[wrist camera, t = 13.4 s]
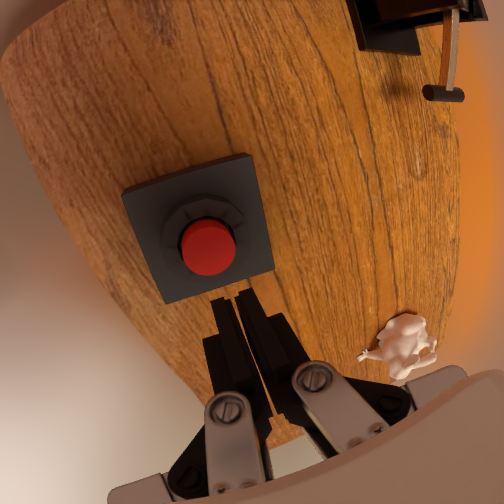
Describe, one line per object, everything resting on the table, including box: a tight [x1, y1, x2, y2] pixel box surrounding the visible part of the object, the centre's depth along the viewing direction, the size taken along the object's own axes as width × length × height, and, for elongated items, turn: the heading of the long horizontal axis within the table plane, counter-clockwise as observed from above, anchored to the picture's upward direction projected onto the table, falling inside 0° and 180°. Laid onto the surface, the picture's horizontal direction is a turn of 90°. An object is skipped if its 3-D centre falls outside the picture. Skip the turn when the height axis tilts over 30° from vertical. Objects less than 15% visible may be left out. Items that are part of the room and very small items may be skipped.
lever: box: [422, 0, 469, 102], centre depth 13 cm, size 12×5×2 cm, turn 12°
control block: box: [121, 153, 275, 304], centre depth 22 cm, size 10×10×4 cm
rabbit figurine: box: [358, 313, 437, 379], centre depth 33 cm, size 12×8×10 cm, turn 107°
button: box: [181, 219, 235, 276], centre depth 20 cm, size 4×4×2 cm
